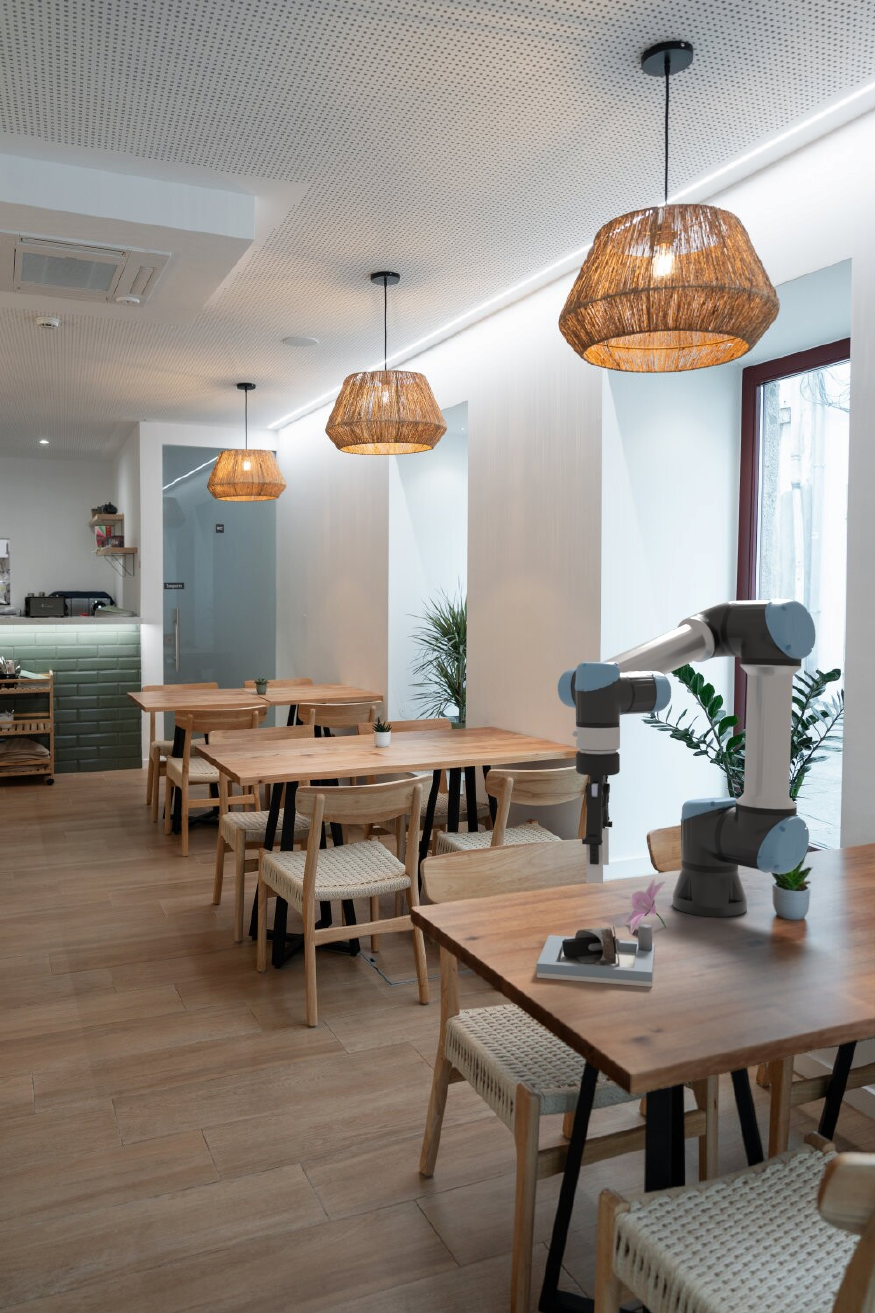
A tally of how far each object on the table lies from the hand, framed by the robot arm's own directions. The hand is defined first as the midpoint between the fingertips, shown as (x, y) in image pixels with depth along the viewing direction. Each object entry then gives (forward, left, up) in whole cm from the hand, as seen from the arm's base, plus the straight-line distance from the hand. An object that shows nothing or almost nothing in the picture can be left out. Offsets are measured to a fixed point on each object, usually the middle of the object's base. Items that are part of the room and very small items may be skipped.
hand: (598, 873), depth 172 cm
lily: (-7, -25, -17) cm, 31 cm away
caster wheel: (+1, 0, -16) cm, 16 cm away
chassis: (0, 0, -16) cm, 16 cm away
